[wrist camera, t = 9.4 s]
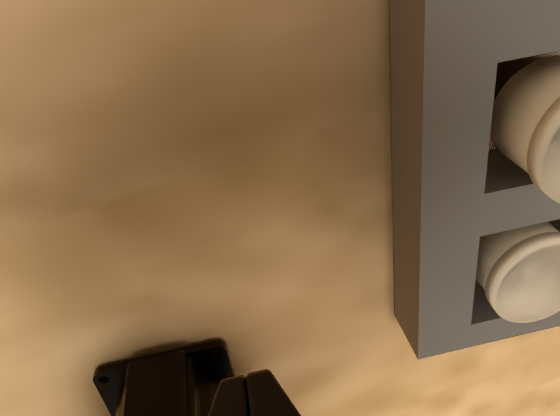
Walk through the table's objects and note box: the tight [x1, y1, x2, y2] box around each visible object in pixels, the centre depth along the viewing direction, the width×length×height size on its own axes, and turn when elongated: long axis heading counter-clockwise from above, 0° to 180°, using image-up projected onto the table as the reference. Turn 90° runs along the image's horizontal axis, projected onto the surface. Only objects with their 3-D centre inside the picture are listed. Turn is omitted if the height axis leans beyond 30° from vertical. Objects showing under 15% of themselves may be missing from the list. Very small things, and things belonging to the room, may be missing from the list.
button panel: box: [389, 0, 560, 359], centre depth 19 cm, size 22×10×3 cm, turn 8°
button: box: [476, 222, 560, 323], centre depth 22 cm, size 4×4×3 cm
